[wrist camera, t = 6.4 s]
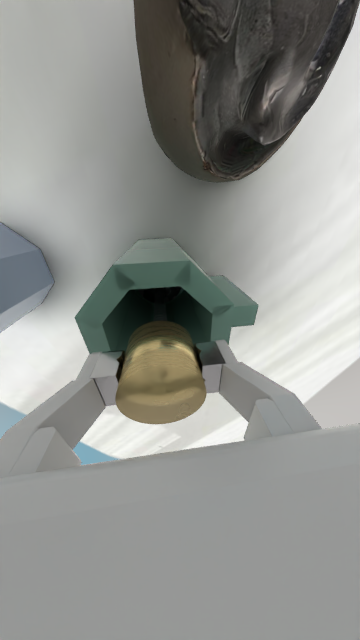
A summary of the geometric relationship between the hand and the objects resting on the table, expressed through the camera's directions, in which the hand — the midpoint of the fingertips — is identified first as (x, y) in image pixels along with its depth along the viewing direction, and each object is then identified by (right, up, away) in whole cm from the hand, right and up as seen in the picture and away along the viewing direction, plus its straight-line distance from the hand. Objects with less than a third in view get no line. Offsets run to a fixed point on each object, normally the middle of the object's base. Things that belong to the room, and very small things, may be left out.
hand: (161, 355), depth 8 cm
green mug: (0, +7, +12) cm, 14 cm away
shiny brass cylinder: (-1, +6, +10) cm, 12 cm away
